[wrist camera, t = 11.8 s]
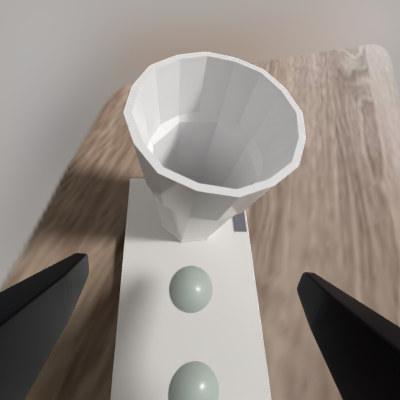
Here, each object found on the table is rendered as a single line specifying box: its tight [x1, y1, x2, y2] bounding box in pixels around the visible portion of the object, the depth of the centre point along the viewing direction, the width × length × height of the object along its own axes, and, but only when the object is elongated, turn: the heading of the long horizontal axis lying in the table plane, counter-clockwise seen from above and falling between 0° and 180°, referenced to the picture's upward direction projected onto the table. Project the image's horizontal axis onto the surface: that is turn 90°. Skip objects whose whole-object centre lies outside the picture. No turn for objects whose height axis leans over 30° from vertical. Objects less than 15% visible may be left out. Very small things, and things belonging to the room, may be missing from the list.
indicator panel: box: [110, 178, 271, 400], centre depth 16 cm, size 18×10×1 cm, turn 3°
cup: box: [123, 52, 306, 242], centre depth 13 cm, size 7×7×11 cm
